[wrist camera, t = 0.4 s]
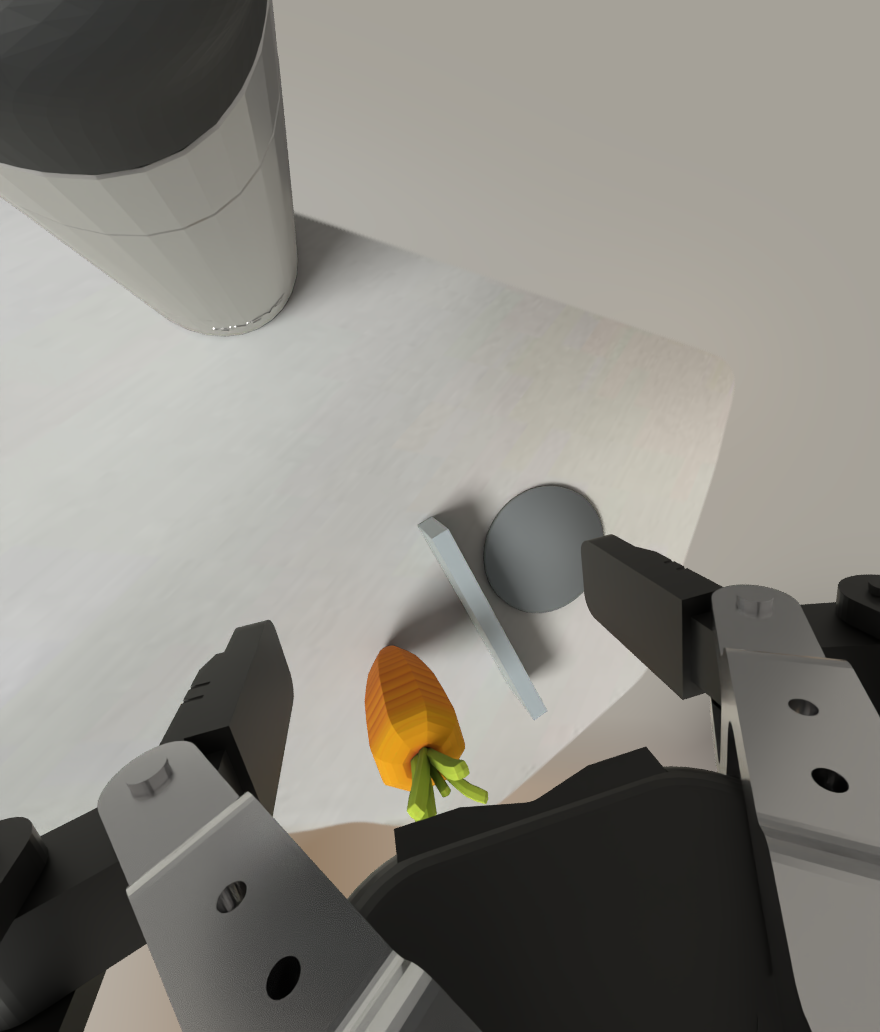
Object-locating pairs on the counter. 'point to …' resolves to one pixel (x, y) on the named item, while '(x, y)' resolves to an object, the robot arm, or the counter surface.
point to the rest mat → (540, 548)
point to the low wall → (481, 614)
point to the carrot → (415, 732)
